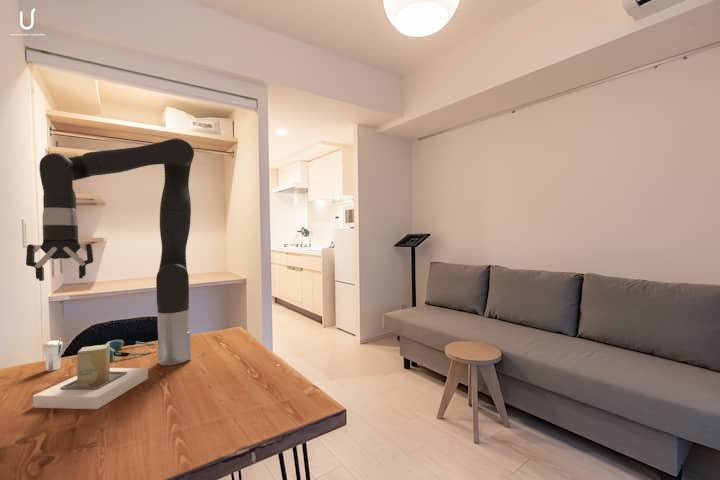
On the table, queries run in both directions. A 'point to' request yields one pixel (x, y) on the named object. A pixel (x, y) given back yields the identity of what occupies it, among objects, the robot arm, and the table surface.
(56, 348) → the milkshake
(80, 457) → the table surface
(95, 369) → the skincare box
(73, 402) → the socket plate
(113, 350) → the sunglasses
